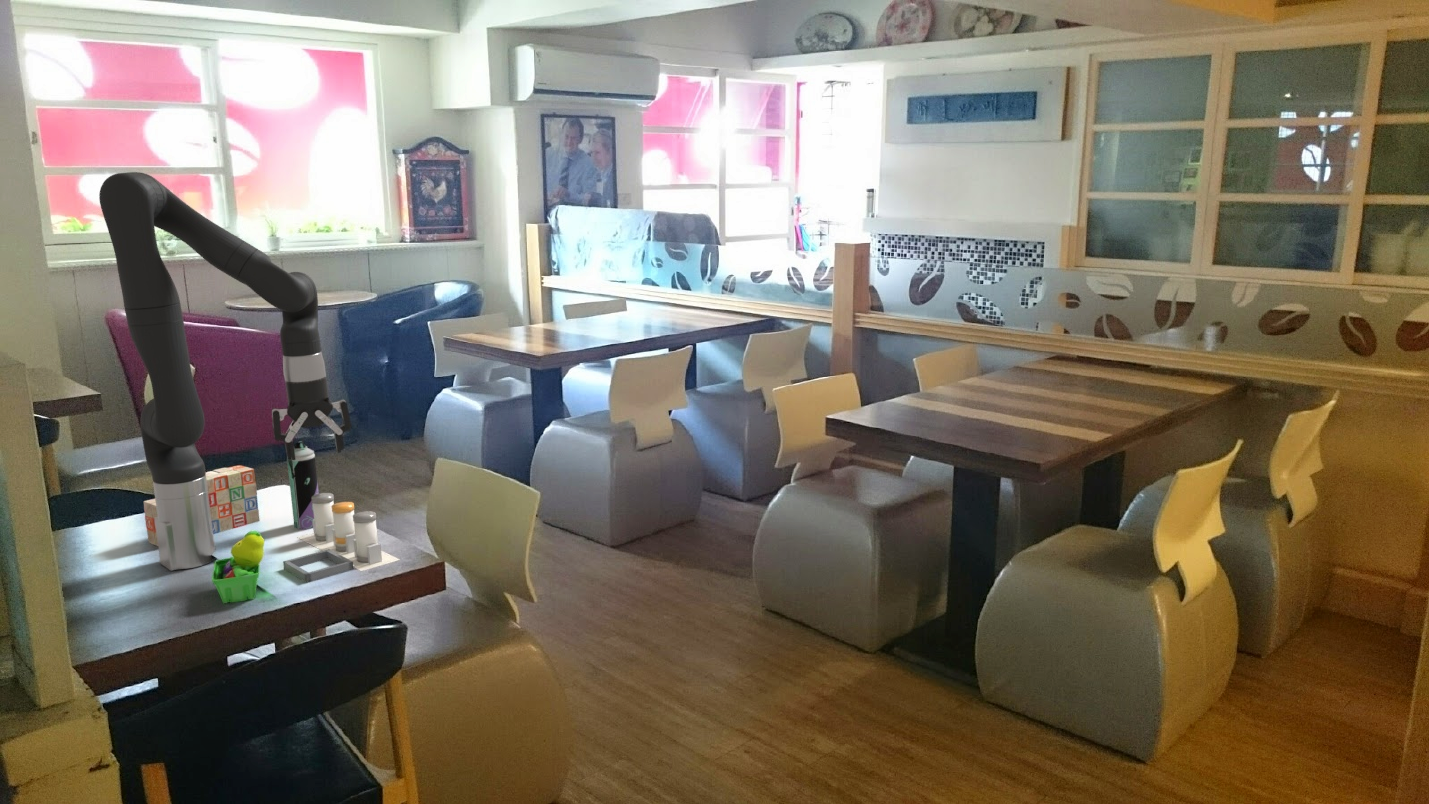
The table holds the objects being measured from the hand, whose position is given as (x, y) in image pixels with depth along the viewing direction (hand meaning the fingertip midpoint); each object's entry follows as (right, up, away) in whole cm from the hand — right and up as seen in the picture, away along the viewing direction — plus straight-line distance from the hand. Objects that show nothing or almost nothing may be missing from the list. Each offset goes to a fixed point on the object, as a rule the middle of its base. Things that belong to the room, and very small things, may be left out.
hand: (316, 455), depth 203 cm
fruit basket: (-7, -24, -16) cm, 30 cm away
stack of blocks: (-31, -18, +18) cm, 40 cm away
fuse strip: (+5, -20, +2) cm, 21 cm away
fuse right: (+12, -20, -4) cm, 23 cm away
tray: (+4, -22, -9) cm, 25 cm away
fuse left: (-1, -17, +8) cm, 19 cm away
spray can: (-8, -17, +17) cm, 25 cm away
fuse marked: (+5, -19, +2) cm, 19 cm away
